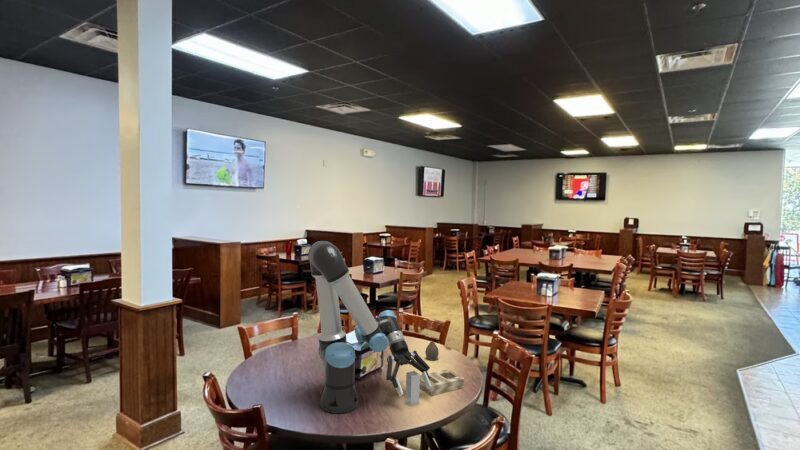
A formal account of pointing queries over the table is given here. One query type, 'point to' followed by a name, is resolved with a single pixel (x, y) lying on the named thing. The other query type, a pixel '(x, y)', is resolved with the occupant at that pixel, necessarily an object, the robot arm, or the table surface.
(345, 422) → the table surface
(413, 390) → the grey rectangular block
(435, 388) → the holder
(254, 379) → the table surface
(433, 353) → the dark grey egg
